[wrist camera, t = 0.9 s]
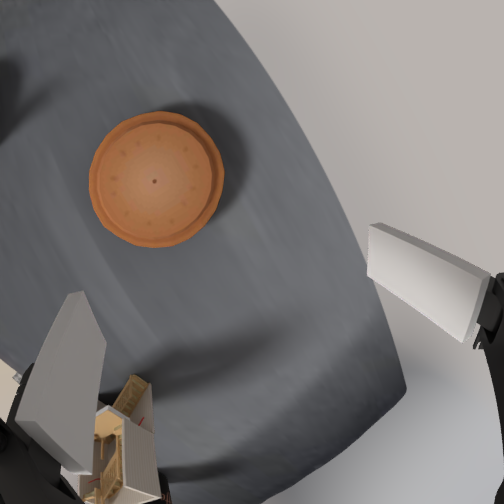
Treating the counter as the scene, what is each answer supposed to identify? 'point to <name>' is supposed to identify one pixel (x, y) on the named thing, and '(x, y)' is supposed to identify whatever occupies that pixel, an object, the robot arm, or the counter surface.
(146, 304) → the counter surface
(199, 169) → the pie
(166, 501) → the coffee jar
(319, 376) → the counter surface
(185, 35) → the counter surface
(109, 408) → the staircase
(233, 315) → the counter surface
